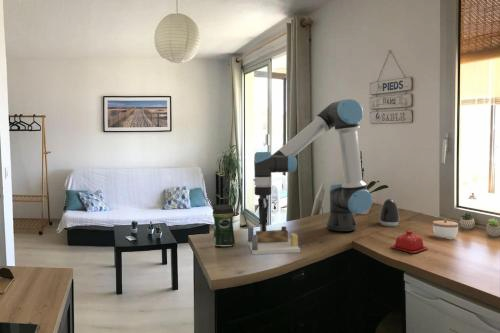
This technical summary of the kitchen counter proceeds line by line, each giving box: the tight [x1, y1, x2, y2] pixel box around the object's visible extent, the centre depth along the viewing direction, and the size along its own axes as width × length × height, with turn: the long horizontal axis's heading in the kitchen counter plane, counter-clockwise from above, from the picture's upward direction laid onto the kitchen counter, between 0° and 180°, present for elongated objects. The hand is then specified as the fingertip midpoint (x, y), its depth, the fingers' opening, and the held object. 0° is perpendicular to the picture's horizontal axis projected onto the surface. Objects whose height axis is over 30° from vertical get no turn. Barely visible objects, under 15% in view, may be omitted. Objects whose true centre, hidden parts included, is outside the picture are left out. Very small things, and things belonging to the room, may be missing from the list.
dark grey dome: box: [379, 198, 401, 227], centre depth 207 cm, size 10×10×15 cm
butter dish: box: [390, 229, 429, 254], centre depth 162 cm, size 12×12×8 cm
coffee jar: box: [212, 204, 236, 246], centre depth 173 cm, size 10×8×19 cm
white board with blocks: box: [247, 227, 301, 255], centre depth 168 cm, size 20×18×8 cm
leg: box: [255, 226, 289, 243], centre depth 173 cm, size 14×3×6 cm, turn 97°
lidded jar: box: [432, 218, 459, 241], centre depth 179 cm, size 11×11×9 cm
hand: (263, 237), depth 175 cm, fingers closed
